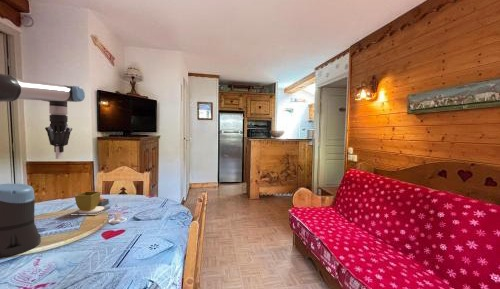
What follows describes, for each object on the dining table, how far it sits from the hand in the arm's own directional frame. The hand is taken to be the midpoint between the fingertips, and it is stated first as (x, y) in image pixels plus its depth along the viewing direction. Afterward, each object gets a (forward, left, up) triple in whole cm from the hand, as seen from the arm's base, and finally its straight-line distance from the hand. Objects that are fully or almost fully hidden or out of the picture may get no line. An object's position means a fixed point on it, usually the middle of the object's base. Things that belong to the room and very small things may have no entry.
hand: (59, 158), depth 125 cm
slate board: (+2, -16, -29) cm, 34 cm away
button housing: (+14, -13, -29) cm, 35 cm away
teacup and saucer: (-13, -35, -30) cm, 48 cm away
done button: (+14, -13, -28) cm, 34 cm away
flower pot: (+2, -14, -29) cm, 32 cm away
